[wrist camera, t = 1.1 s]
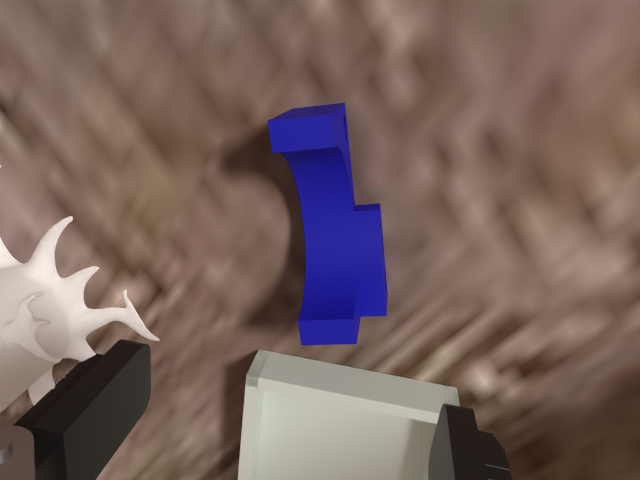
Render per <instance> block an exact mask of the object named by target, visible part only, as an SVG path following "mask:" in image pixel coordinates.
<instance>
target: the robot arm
mask: <svg viewBox="0 0 640 480" xmlns="http://www.w3.org/2000/svg"><path fill="white" fill-rule="evenodd" d="M150 392H151V363H150V347H149V345H147V344H142V343H137V342H132V341H127V340H119V341H118V342H117V343H116V344H115V345H114V346H113V347H112V348H111V349H110V350H109V351H108V352H107V353H106V354H105V355H100V354H96V355H94V356H92V357H90V358H88V359H86V360H84V361H82V362H80V363H78V364H77V365H76V366H75V367H74V368H73V369H72V370H71V371H70V372H69V373H68V374H67V375H66V376H65V379H64V378H63V379H62V380H61V381H59V382H58V383H57V384H56V385H55V387H54V389H51V390H50V391H49V392H48V393H47V394H46V395H45V396H44V397H43V398H42V399H40V400H39V401H38V402H37V403H36V404H35V405H34V406H33V407H32V408H31V409H30V410H29V411H28V412H27V413H26V414H25V415H24V416H23V417H21V418H20V419H19V420H18V421H17V422H16V423H15V424H14V425H13V426H1V427H0V480H95V479H96V478H97V477H98V475H99V474H100V473H101V471H102V470H103V468H104V467H105V466H106V464H107V463H108V462H109V460H110V459H111V457H112V456H113V455H114V453H115V452H116V451H117V449H118V448H119V446H120V445H121V444H122V442H123V441H124V439H125V438H126V437H127V435H128V434H129V433H130V431H131V430H132V428H133V427H134V426H135V424H136V423H137V422H138V420H139V419H140V417H141V416H142V415H143V413H144V411H145V409H146V407H147V405H148V402H149V398H150ZM428 480H512V477H511V474H510V472H509V466H508V462H507V458H506V454H505V451H504V449H503V448H502V446H501V445H500V444H499V442H498V441H497V440H496V438H495V437H494V436H493V434H491V433H486V432H481V431H478V429H477V424H476V419H475V414H474V411H473V409H471V408H465V407H460V406H455V405H450V404H445V403H444V404H443V405H442V407H441V410H440V414H439V418H438V422H437V426H436V430H435V434H434V438H433V441H432V445H431V450H430V455H429V464H428Z"/></svg>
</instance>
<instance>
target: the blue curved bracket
mask: <svg viewBox="0 0 640 480" xmlns="http://www.w3.org/2000/svg"><path fill="white" fill-rule="evenodd" d="M268 127H269V134H270V140H271V147H272V153H279V152H280V153H281V154H282V155H283V156H284V157H285V158H286V160H287V161H288V163H289V165H290V168H291V170H292V173H293V175H294V179H295V182H296V186H297V189H298V194H299V199H300V204H301V210H302V217H303V225H304V236H305V287H304V296H303V303H302V308H301V312H300V316H299V319H298V325H299V332H300V338H301V345H332V344H356V343H357V337H358V330H359V324H360V318H361V317H363V316H386V312H387V283H386V271H385V258H384V246H383V234H382V222H381V210H380V204H368V205H355V201H354V191H353V181H352V171H351V161H350V151H349V141H348V131H347V121H346V111H345V103H339V104H331V105H322V106H313V107H304V108H295V109H291V110H289V111H287V112H285V113H283V114H281V115H279V116H277V117H275V118H273V119H271V120H269V121H268Z"/></svg>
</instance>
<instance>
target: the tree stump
mask: <svg viewBox="0 0 640 480" xmlns="http://www.w3.org/2000/svg"><path fill="white" fill-rule="evenodd" d="M0 167H1V165H0ZM72 220H73V217H71V216H70V217H67V218H65V219H63V220H61V221H60V222H59V223H57V224H56V225H54V226H53V227H52V228H51V229H50V230H49V231H48V232H47V233H46V234H45V235H44V237H43V238H42V239H41V241H40V242H39V244H38V246H37V248H36V249H35V251H34V253H33V255H32V257H31V259H30V260H29V261H28V262H27V263H25V264H22V263H20V262H18V261H17V260H16V259H14V258H13V257H12V256H11V254H10V253H9V252H8V250H7V249H6V247H5V246H4V244H3V242H2V240H1V238H0V413H1V412H2V411H3V410H4V409H5V408H6V407H8V406H9V405H10V404H11V403H12V402H13V401H14V400H15V399H17V398H18V397H19V396H20V395H21V394H22V393H23V392H24V391H25V390H27V389H28V392H29V397H30V399H31V402H32V404H33V406H34V405H35V404H36V403H37V402H38V401H39V400H40V399H42V398H43V397H44V396H45V395H46V394H47V393H48V392H49V391H50V390H51V389H54V387H55V383H54V381H53V377H52V368H53V365H55V364H56V363H59V362H60V361H61V360H62V359H63V358H72V359H76V360H78V361H81V362H82V361H84V360H86V359H88V358H90V357H92V356H94V355H96V354H95V353H94V351H93V350H92V349H91V348H90V346H89V345H88V343H87V342H86V336H87V335H88V334H89V333H91V332H92V331H94V330H96V329H98V328H100V327H101V326H103V325H105V324H107V323H109V322H111V321H121V322H123V323H125V324H127V325H128V326H130V327H131V328H132V329H134V330H135V331H136V332H138V333H139V334H140V335H142V336H143V337H146V338H148V339H150V340H155V341H160V340H159V339H158V338H157V337H156V336H154V335H153V334H151V333H150V332H149V331H148V329H147V328H146V327H145V325H144V324H143V322H142V320H141V319H140V318H139V316H138V314H137V312H136V311H135V309H134V307H133V305H132V304H131V302H130V300H129V299H128V298H127V289H126V290H124V291H123V296H124V300H125V303H126V307H125V308H105V309H89V308H87V307H86V306H85V304H84V300H83V292H84V287H85V284H86V282H87V281H88V280H89V278H90V277H91V276H92V275H93V274H94V273H95V272H96V271H97V270H98V269H99V267H95V266H92V267H89V268H85V269H83V270H81V271H79V272H76V273H75V274H73V275H71V276H69V277H67V278H60V277H59V275H58V273H57V271H56V266H55V258H54V251H55V247H56V243H57V240H58V238H59V236H60V234H61V232H62V231H63V230H64V228H65V227H66V226H67V225H68V223H70V222H71V221H72Z"/></svg>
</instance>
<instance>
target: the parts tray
mask: <svg viewBox="0 0 640 480" xmlns="http://www.w3.org/2000/svg"><path fill="white" fill-rule="evenodd" d="M444 403H445V404H450V405H455V406H460V404H459V398H458V392H457V388H455V387H450V386H445V385H440V384H435V383H430V382H424V381H419V380H414V379H409V378H404V377H399V376H394V375H388V374H383V373H378V372H373V371H368V370H363V369H358V368H352V367H347V366H342V365H337V364H332V363H327V362H322V361H316V360H311V359H306V358H301V357H296V356H291V355H285V354H280V353H275V352H270V351H265V350H260V349H259V350H258V352H257V354H256V356H255V358H254V360H253V362H252V364H251V366H250V369H249V371H248V373H247V375H246V385H245V397H244V410H243V422H242V434H241V446H240V458H239V471H238V480H428V464H429V455H430V450H431V445H432V441H433V438H434V434H435V430H436V426H437V422H438V418H439V414H440V410H441V407H442V405H443V404H444Z"/></svg>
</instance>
